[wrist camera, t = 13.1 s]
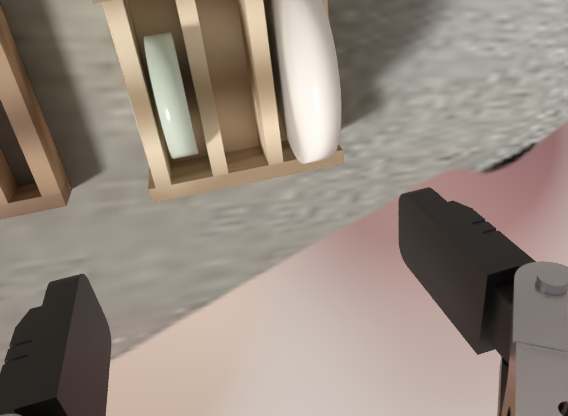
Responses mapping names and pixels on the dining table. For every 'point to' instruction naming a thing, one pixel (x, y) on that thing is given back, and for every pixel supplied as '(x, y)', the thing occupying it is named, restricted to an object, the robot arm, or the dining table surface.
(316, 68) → the plate
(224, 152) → the rack
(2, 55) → the stand
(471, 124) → the dining table surface
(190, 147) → the saucer
